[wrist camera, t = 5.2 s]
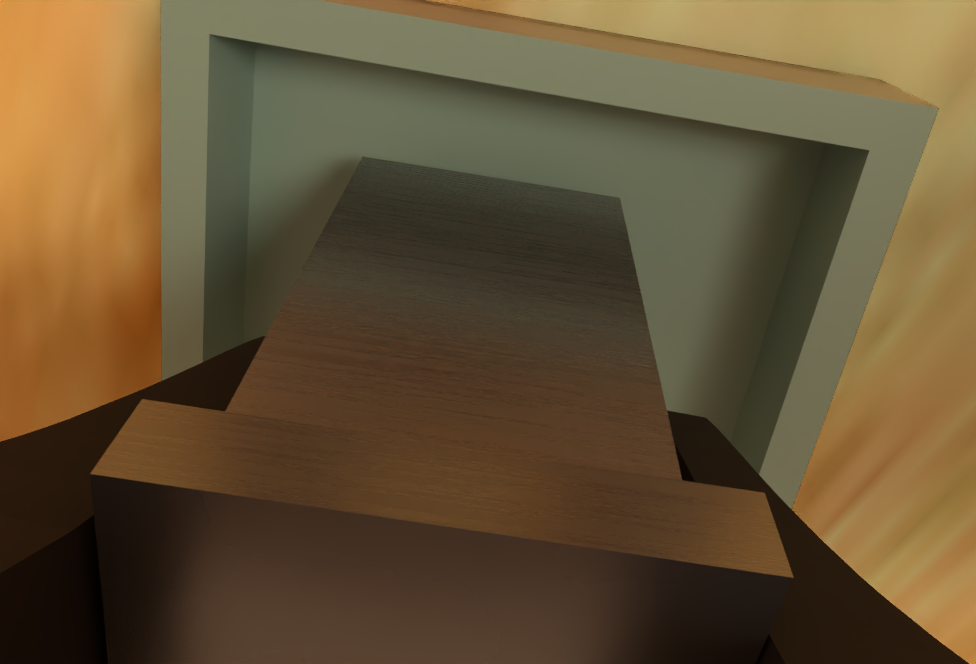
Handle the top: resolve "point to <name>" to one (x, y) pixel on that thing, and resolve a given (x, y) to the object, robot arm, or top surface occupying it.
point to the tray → (545, 180)
